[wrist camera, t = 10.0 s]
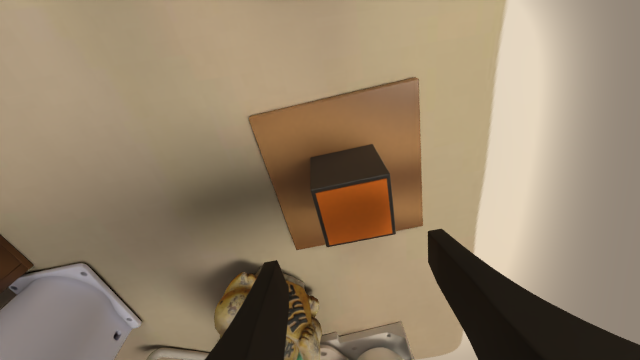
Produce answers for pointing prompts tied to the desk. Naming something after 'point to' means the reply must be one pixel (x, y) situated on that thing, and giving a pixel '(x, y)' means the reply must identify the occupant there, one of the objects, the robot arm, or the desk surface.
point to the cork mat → (341, 134)
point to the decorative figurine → (301, 318)
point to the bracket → (370, 341)
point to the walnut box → (11, 264)
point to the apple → (379, 354)
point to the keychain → (330, 353)
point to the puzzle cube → (352, 195)
